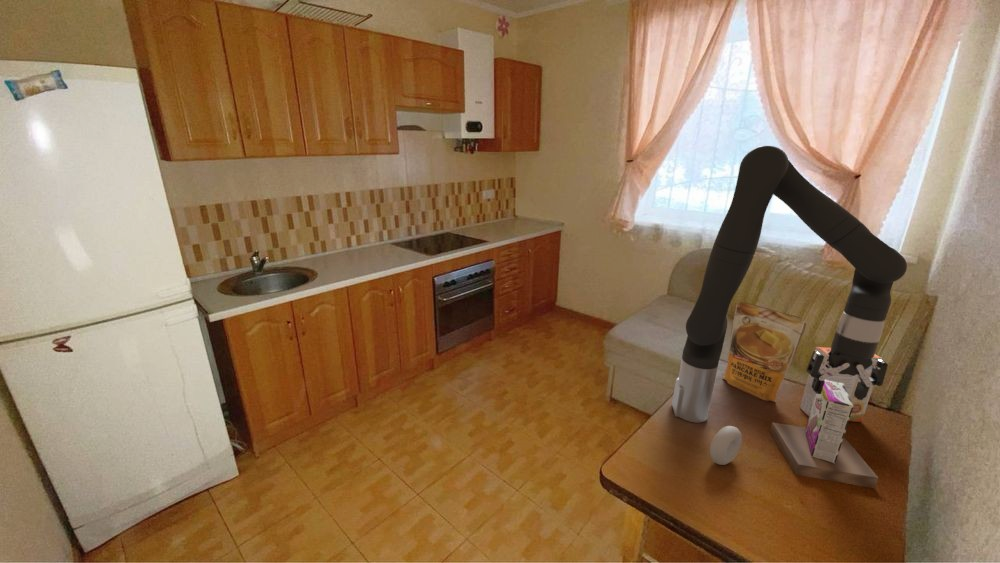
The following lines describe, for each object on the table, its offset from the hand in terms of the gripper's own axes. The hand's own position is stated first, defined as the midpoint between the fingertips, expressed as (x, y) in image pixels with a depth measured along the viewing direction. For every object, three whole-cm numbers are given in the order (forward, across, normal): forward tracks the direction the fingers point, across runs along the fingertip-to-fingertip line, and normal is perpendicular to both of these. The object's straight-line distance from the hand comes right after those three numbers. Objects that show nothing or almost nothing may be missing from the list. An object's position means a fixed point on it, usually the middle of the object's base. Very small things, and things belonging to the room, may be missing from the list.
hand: (837, 395), depth 94 cm
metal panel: (+18, 0, 0) cm, 18 cm away
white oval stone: (+19, -24, -8) cm, 31 cm away
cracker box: (+18, +12, +21) cm, 30 cm away
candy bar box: (+15, 0, 0) cm, 16 cm away
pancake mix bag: (+19, -6, +30) cm, 36 cm away
